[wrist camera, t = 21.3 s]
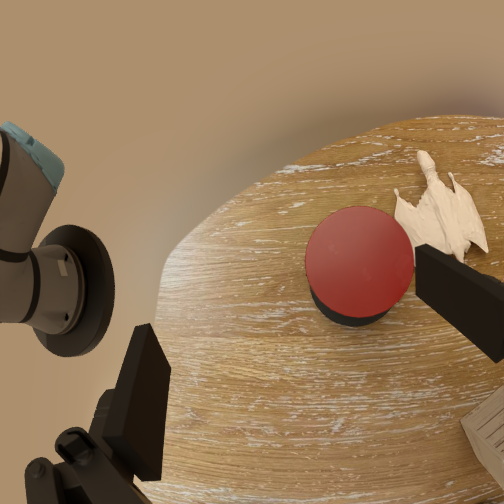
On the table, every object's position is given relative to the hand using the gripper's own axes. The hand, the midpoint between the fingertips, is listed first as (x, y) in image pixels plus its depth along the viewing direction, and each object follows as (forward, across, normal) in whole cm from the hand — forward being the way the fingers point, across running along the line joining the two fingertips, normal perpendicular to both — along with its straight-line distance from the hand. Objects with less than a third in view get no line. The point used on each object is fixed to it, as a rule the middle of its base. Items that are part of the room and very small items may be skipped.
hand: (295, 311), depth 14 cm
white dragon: (+14, +20, -6) cm, 25 cm away
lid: (+6, +6, -2) cm, 9 cm away
